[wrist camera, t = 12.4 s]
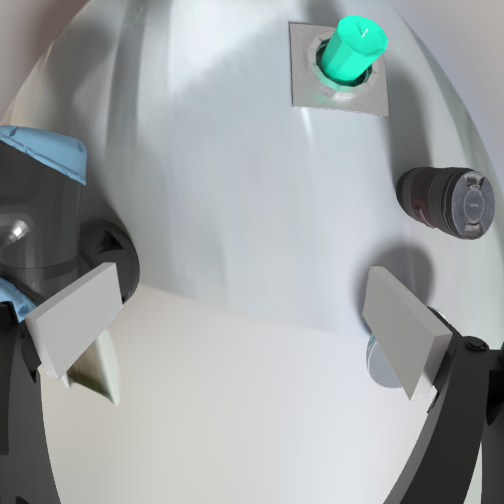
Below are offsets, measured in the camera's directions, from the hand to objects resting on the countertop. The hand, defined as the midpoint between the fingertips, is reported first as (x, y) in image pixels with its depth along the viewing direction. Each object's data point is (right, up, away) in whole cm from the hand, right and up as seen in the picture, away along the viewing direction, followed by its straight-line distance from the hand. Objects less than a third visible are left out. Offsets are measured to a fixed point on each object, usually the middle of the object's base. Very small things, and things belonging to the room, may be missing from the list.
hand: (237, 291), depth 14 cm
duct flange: (+13, +28, +19) cm, 37 cm away
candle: (+13, +28, +18) cm, 36 cm away
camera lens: (+25, +11, +24) cm, 36 cm away
